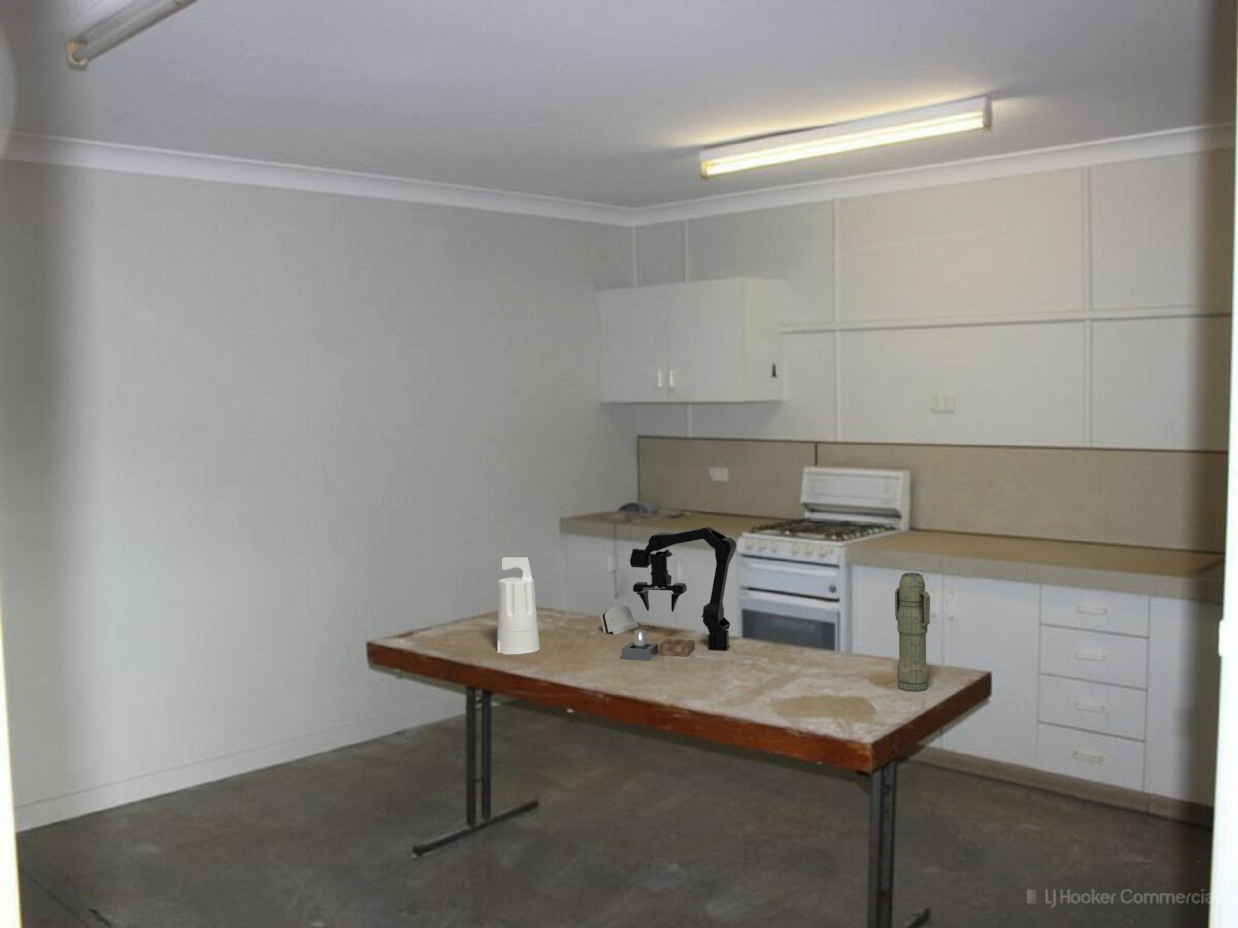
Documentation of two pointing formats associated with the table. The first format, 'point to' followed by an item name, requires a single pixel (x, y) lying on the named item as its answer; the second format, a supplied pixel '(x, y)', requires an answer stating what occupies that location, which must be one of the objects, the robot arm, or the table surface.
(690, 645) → the socket block
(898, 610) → the thermos
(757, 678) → the table surface
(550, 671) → the table surface
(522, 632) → the white hook-topped canister
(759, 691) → the table surface
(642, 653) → the block
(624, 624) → the hinge
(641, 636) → the metal cylinder peg
